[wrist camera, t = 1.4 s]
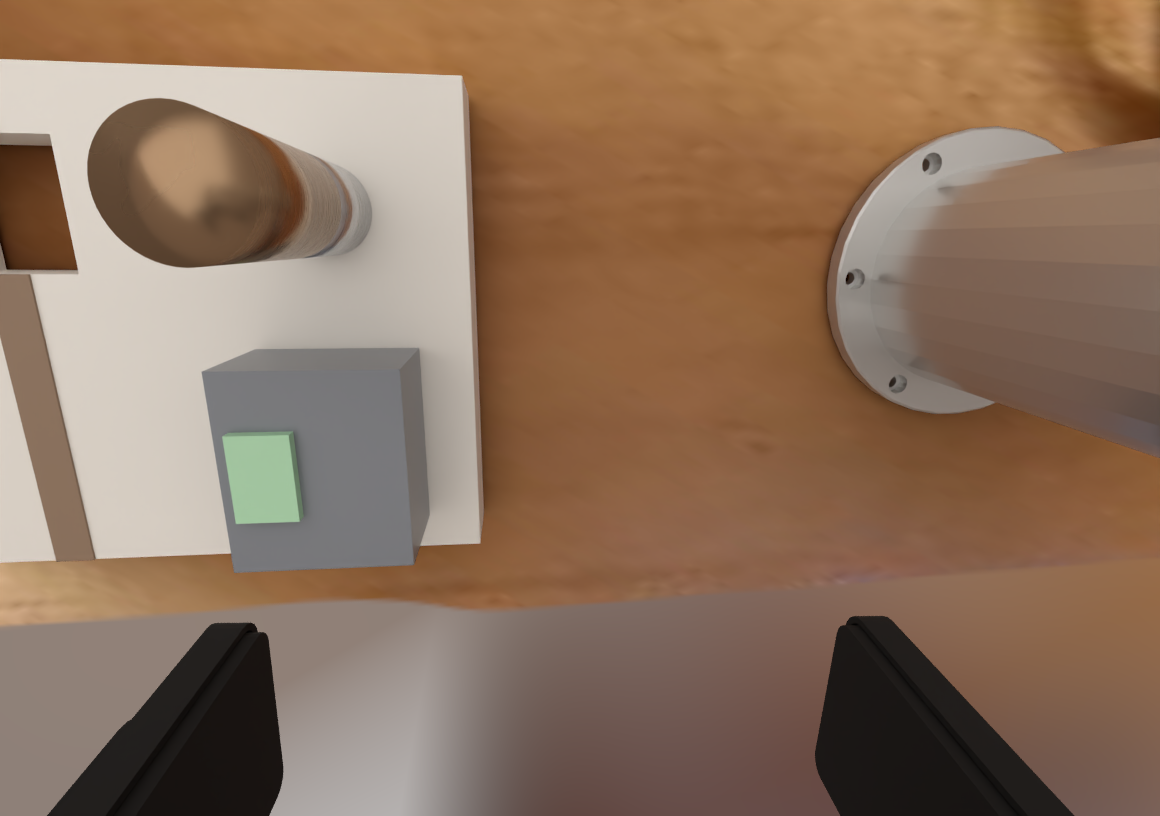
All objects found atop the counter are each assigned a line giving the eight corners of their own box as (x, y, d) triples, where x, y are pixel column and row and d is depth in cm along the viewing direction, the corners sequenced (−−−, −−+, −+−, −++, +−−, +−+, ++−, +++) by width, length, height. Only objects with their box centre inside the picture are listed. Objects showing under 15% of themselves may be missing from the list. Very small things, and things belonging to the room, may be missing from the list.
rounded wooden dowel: (368, 163, 21) (247, 101, 12) (375, 255, 22) (268, 267, 13) (274, 161, 21) (71, 95, 11) (285, 255, 22) (105, 267, 12)
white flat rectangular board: (468, 95, 24) (461, 75, 21) (483, 512, 29) (480, 544, 26) (-153, 75, 22) (-260, 49, 19) (-23, 530, 26) (-91, 567, 23)
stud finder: (419, 347, 23) (397, 371, 19) (429, 514, 25) (412, 571, 21) (255, 349, 22) (194, 374, 18) (278, 520, 24) (228, 578, 20)
